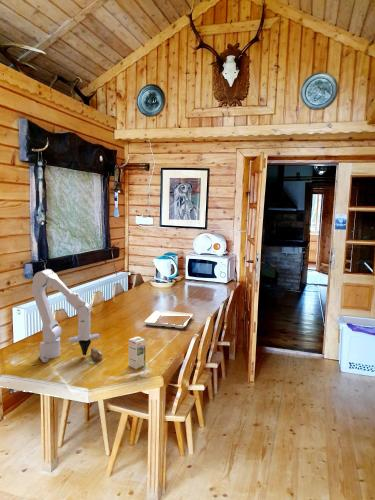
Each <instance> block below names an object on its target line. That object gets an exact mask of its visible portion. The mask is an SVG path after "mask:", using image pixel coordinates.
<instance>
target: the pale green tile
mask: <svg viewBox="0 0 375 500" xmlns="http://www.w3.org/2000/svg"><path fill="white" fill-rule="evenodd" d="M87 363H88V364H92V365H94V364H96V361H93V360H90V361H88V362H87Z"/></svg>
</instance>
